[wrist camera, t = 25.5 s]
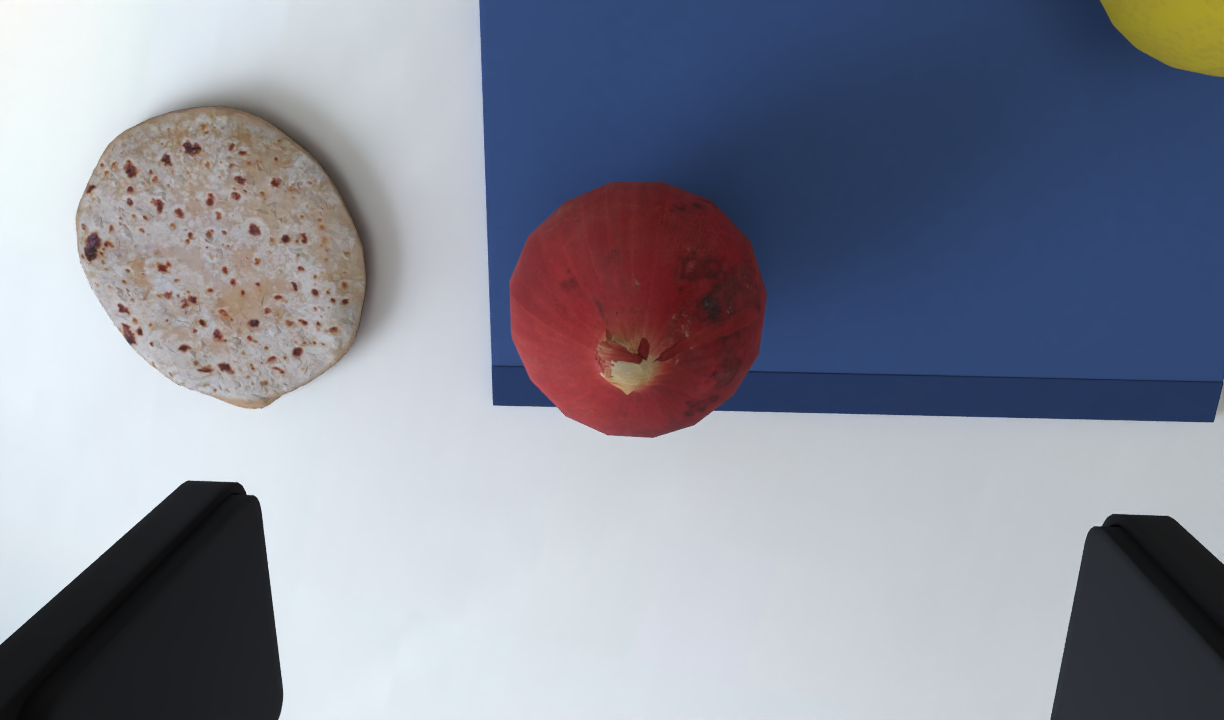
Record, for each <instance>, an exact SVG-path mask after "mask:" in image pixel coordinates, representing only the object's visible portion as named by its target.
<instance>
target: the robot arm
mask: <svg viewBox="0 0 1224 720" xmlns="http://www.w3.org/2000/svg"><path fill="white" fill-rule="evenodd" d="M282 702H283V686H282V677H281V669H280V661H279V653H278V644H277V636H276V628H275V620H274V611H273V603H272V595H271V586H270V578H269V570H268V562H267V553H266V545H265V537H264V529H263V520H262V512H261V507H260V503H259V501H258V499H257V497H255V496H254V495H246V492H245V490H244V488H243V486H242V485H241V484H239V483H238V482H212V481H186V482H185V483H183V484H181V485H180V486H179V487H178V488H177V489H176V490H175V491H173V492H172V493H171V494H170V495H169V496H168V497H167V498H166V499H164V500H163V501H162V502H161V503H160V504H159V505H158V506H157V507H155V508H154V509H153V510H152V511H151V512H150V513H149V514H148V515H146V516H145V517H144V518H143V519H142V520H141V521H140V522H138V523H137V524H136V525H135V526H134V527H133V528H132V529H131V530H129V531H128V532H127V533H126V534H125V535H124V536H123V537H122V538H120V539H119V540H118V541H117V542H116V543H115V544H114V545H113V546H111V547H110V548H109V549H108V550H107V551H106V552H105V553H103V554H102V555H101V556H100V557H99V558H98V559H97V560H96V561H94V562H93V563H92V564H91V565H90V566H89V567H88V568H87V569H85V570H84V571H83V572H82V573H81V574H80V575H79V576H78V577H76V578H75V579H74V580H73V581H72V582H71V583H70V584H69V585H67V586H66V587H65V588H64V589H63V590H62V591H61V592H59V593H58V594H57V595H56V596H55V597H54V598H53V599H52V600H50V601H49V602H48V603H47V604H46V605H45V606H44V607H43V608H41V609H40V610H39V611H38V612H37V613H36V614H35V615H34V616H32V617H31V618H30V619H29V620H28V621H27V622H26V623H24V624H23V625H22V626H21V627H20V628H19V629H18V630H17V631H15V632H14V633H13V634H12V635H11V636H10V637H9V638H8V639H6V640H5V641H4V642H3V643H2V644H1V645H0V720H278V719H279V716H280V713H281V708H282ZM1051 720H1224V564H1223V563H1221V562H1220V561H1219V560H1218V559H1217V558H1216V557H1215V556H1214V555H1213V554H1212V553H1211V552H1209V551H1208V550H1207V549H1206V548H1205V547H1204V546H1203V545H1202V544H1201V543H1200V542H1199V541H1198V540H1196V539H1195V538H1194V537H1193V536H1192V535H1191V534H1190V533H1189V532H1188V531H1187V530H1186V529H1184V528H1183V527H1182V526H1181V525H1180V524H1179V523H1178V522H1177V521H1176V520H1174V519H1173V518H1171V517H1169V516H1154V515H1126V514H1112V515H1110V516H1109V517H1107V519H1106V520H1105V522H1104V523H1103V525H1102V527H1099V526H1094V527H1093V528H1091V529H1090V531H1089V532H1088V534H1087V537H1086V541H1085V545H1084V550H1083V556H1082V561H1081V566H1080V571H1079V576H1078V581H1077V586H1076V591H1075V597H1074V602H1073V607H1072V612H1071V617H1070V622H1069V627H1068V632H1067V638H1066V643H1065V648H1064V653H1063V658H1062V663H1061V668H1060V673H1059V679H1058V684H1057V689H1056V694H1055V699H1054V704H1053V709H1052V714H1051Z"/></svg>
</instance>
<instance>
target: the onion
mask: <svg viewBox="0 0 1224 720" xmlns="http://www.w3.org/2000/svg"><path fill="white" fill-rule="evenodd" d="M766 298H767V292H766V289H765V285H764V282H763V279H762V276H761V273H760V270H759V266H758V263H757V260H756V257H755V254H754V251H753V247H752V244H751V241H750V240H749V239H748V238H747V237H746V236H745V235H744V234H743V233H742V232H741V231H740V230H739V228H738V227H737V226H736V225H735V224H734V223H733V222H732V221H731V220H730V219H729V218H728V217H727V216H726V215H725V214H724V213H723V212H722V211H721V209H720V208H719V207H718V206H717V205H716V204H715V203H714V202H713V201H712V200H709V199H707V198H704V197H701V196H699V195H696V194H693V193H691V192H688V191H686V190H683V189H680V188H678V187H675V186H673V185H670V184H667V183H665V182H610V183H608V184H605V185H603V186H601V187H598V188H596V189H594V190H591V191H589V192H586V193H584V194H582V195H579V196H577V197H575V198H572V199H570V200H567V201H565V202H564V203H563V204H562V205H561V206H560V207H559V208H558V209H557V210H555V211H554V212H553V213H552V214H551V215H550V216H549V217H548V218H547V219H546V220H545V221H544V222H543V223H542V224H541V225H539V226H538V227H537V228H536V229H535V230H534V231H533V232H532V233H531V234H530V235H529V236H528V238H527V241H526V243H525V245H524V248H523V250H522V253H521V255H520V257H519V260H518V262H517V265H516V267H515V269H514V272H513V274H512V277H511V279H510V314H511V334H512V339H513V342H514V344H515V346H516V348H517V351H518V353H519V355H520V357H521V360H522V362H523V364H524V366H525V369H526V371H527V373H528V375H529V378H530V380H531V381H532V382H533V383H534V384H535V385H536V386H537V387H538V388H539V389H540V390H541V391H542V392H543V393H544V394H545V395H546V396H547V397H548V398H549V399H550V400H551V401H552V402H553V403H554V404H555V405H556V406H557V408H558V409H559V410H560V411H561V412H562V413H563V414H564V415H565V416H567V417H569V418H571V419H573V420H575V421H578V422H580V423H582V424H584V425H586V426H589V427H591V428H593V429H595V430H597V431H600V432H602V433H604V434H606V435H615V436H632V437H649V438H653V437H657V436H660V435H663V434H667V433H670V432H673V431H676V430H680V429H683V428H686V427H690V426H693V425H695V424H696V423H698V422H699V421H700V420H702V419H703V418H704V417H706V416H707V415H708V414H709V413H711V412H712V411H713V410H715V409H716V408H717V407H719V406H720V405H721V404H723V403H724V402H725V401H727V400H728V399H729V398H730V397H732V396H733V395H734V394H735V392H736V390H737V389H738V387H739V386H740V384H741V382H742V381H743V379H744V377H745V376H746V374H747V373H748V371H749V369H750V368H751V366H752V365H753V363H754V361H755V360H756V358H757V357H758V355H759V350H760V343H761V335H762V328H763V321H764V313H765V306H766Z"/></svg>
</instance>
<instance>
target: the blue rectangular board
mask: <svg viewBox="0 0 1224 720" xmlns="http://www.w3.org/2000/svg"><path fill="white" fill-rule="evenodd" d="M479 3H480V32H481V62H482V91H483V120H484V149H485V179H486V208H487V237H488V266H489V295H490V325H491V354H492V389H493V405H499V406H541V407H557V406H556V405H555V404H554V403H553V402H552V401H551V400H550V399H549V398H548V397H547V396H546V395H545V394H544V393H543V392H542V391H541V390H540V389H539V388H538V387H537V386H536V385H535V384H534V383H533V382H532V381H531V380H530V378H529V375H528V373H527V371H526V369H525V366H524V364H523V362H522V360H521V357H520V355H519V353H518V351H517V348H516V346H515V344H514V342H513V339H512V334H511V314H510V279H511V277H512V274H513V272H514V269H515V267H516V265H517V262H518V260H519V257H520V255H521V253H522V250H523V248H524V245H525V243H526V241H527V238H528V236H529V235H530V234H531V233H532V232H533V231H534V230H535V229H536V228H537V227H538V226H539V225H541V224H542V223H543V222H544V221H545V220H546V219H547V218H548V217H549V216H550V215H551V214H552V213H553V212H554V211H555V210H557V209H558V208H559V207H560V206H561V205H562V204H563V203H564V202H565V201H567V200H570V199H572V198H575V197H577V196H579V195H582V194H584V193H586V192H589V191H591V190H594V189H596V188H598V187H601V186H603V185H605V184H608V183H610V182H665V183H667V184H670V185H673V186H675V187H678V188H680V189H683V190H686V191H688V192H691V193H693V194H696V195H699V196H701V197H704V198H707V199H709V200H712V201H713V202H714V203H715V204H716V205H717V206H718V207H719V208H720V209H721V211H722V212H723V213H724V214H725V215H726V216H727V217H728V218H729V219H730V220H731V221H732V222H733V223H734V224H735V225H736V226H737V227H738V228H739V230H740V231H741V232H742V233H743V234H744V235H745V236H746V237H747V238H748V239H749V240H750V241H751V244H752V247H753V251H754V254H755V257H756V260H757V263H758V266H759V270H760V273H761V276H762V279H763V282H764V285H765V289H766V292H767V298H766V306H765V313H764V321H763V328H762V335H761V343H760V350H759V355H758V357H757V358H756V360H755V361H754V363H753V365H752V366H751V368H750V369H749V371H748V373H747V374H746V376H745V377H744V379H743V381H742V382H741V384H740V386H739V387H738V389H737V390H736V392H735V394H734V395H733V396H732V397H730V398H729V399H728V400H727V401H725V402H724V403H723V404H721V405H720V406H719V407H717V408H716V409H715V410H713V411H753V412H795V413H838V414H880V415H923V416H965V417H1007V418H1050V419H1092V420H1135V421H1177V422H1214V419H1215V415H1216V411H1217V407H1218V403H1219V398H1220V394H1221V390H1222V386H1223V378H1224V77H1218V76H1210V75H1206V74H1201V73H1196V72H1191V71H1186V70H1181V69H1177V68H1174V67H1171V66H1168V65H1166V64H1164V63H1162V62H1160V61H1159V60H1157V59H1155V58H1153V57H1151V56H1149V55H1148V54H1146V53H1144V52H1142V51H1140V50H1138V49H1137V48H1136V47H1135V46H1133V45H1132V44H1131V43H1130V42H1129V41H1128V40H1127V39H1126V38H1125V37H1124V36H1123V35H1122V34H1121V33H1120V32H1119V31H1118V30H1117V29H1116V27H1115V26H1114V25H1113V24H1112V22H1111V20H1110V18H1109V16H1108V15H1107V13H1106V11H1105V9H1104V7H1103V5H1102V3H1101V1H1100V0H479Z"/></svg>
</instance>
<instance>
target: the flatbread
mask: <svg viewBox="0 0 1224 720" xmlns="http://www.w3.org/2000/svg"><path fill="white" fill-rule="evenodd" d="M76 230H77V244H78V253H79V257H80V263H81V265H82V267H83V270H84V272H85V274H86V277H87V279H88V281H89V283H90V286H91V288H92V290H93V291H94V293H95V295H96V296H97V298H98V299H99V301H100V303H101V304H102V306H103V308H104V309H105V311H106V312H107V314H108V316H109V317H110V319H111V320H112V322H113V323H114V325H115V326H116V327H117V329H118V330H119V331H120V333H121V334H122V335H123V336H124V338H125V339H126V340H127V342H128V343H129V344H130V346H131V347H132V348H133V349H134V350H135V351H136V352H137V353H138V354H139V355H140V356H142V357H143V358H144V359H145V360H146V361H147V362H148V363H149V364H150V365H152V366H153V367H155V368H156V369H157V370H159V371H160V372H161V373H162V374H164V375H165V376H166V377H167V378H169V379H170V380H172V381H173V382H175V383H176V384H178V385H180V386H184V387H186V388H188V389H191V390H196V391H198V392H201V393H203V394H206V395H210V396H212V397H215V398H217V399H220V400H222V401H225V402H227V403H230V404H233V405H235V406H238V407H243V408H251V409H256V408H263V407H265V406H267V405H269V404H271V403H272V402H273V401H275V400H276V399H278V398H279V397H280V396H282V395H283V394H286V393H288V392H292V391H293V390H295V389H297V388H299V387H301V386H303V385H305V384H307V383H308V382H310V381H312V380H313V379H315V378H316V377H318V376H319V375H321V374H323V373H324V372H326V371H327V370H328V369H329V368H331V367H332V366H333V365H335V364H336V363H337V362H338V361H339V360H340V359H341V358H342V357H343V356H344V355H345V354H346V352H347V351H348V349H349V348H350V347H351V345H352V343H353V341H354V339H355V337H356V334H357V331H358V327H359V324H360V318H361V312H362V306H363V302H364V297H365V290H366V268H365V260H364V251H363V246H362V243H361V241H360V238H359V236H358V233H357V231H356V228H355V225H354V223H353V220H352V218H351V216H350V214H349V212H348V210H347V208H346V206H345V204H344V202H343V200H342V198H341V196H340V194H339V192H338V191H337V189H336V187H335V186H334V184H333V182H332V181H331V179H330V177H329V176H328V174H327V173H326V172H325V170H324V169H323V168H322V167H321V165H320V164H319V163H318V161H317V160H315V159H314V158H313V157H312V156H311V155H310V154H309V153H308V152H307V151H306V150H305V149H304V148H302V147H301V146H300V145H298V144H297V143H296V142H295V141H293V140H292V139H291V138H290V137H288V136H287V135H286V134H284V133H283V132H282V131H281V130H279V129H278V128H276V127H275V126H273V125H271V124H270V123H268V122H267V121H265V120H263V119H261V118H259V117H257V116H255V115H253V114H250V113H248V112H245V111H242V110H239V109H235V108H229V107H218V106H212V107H196V108H190V109H184V110H178V111H172V112H169V113H166V114H163V115H160V116H157V117H154V118H151V119H148V120H146V121H144V122H142V123H140V124H138V125H136V126H134V127H132V128H130V129H128V130H126V131H124V132H123V133H121V134H120V135H119V136H117V137H116V138H115V139H114V140H113V141H112V142H111V143H110V144H109V145H108V146H107V148H106V149H105V151H104V152H103V154H102V156H101V158H100V159H99V162H98V164H97V166H96V168H95V169H94V171H93V174H92V176H91V178H90V180H89V182H88V184H87V187H86V189H85V191H84V194H83V196H82V198H81V200H80V203H79V206H78V209H77V213H76Z"/></svg>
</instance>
